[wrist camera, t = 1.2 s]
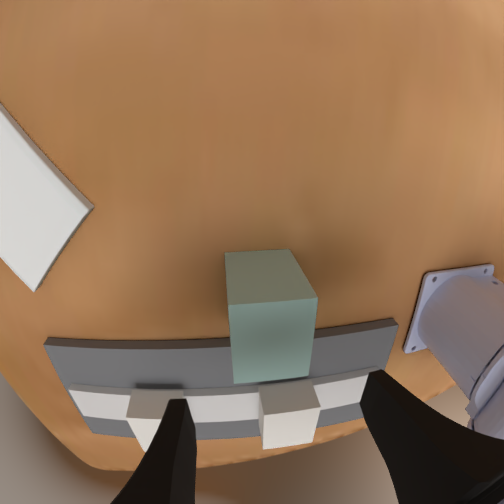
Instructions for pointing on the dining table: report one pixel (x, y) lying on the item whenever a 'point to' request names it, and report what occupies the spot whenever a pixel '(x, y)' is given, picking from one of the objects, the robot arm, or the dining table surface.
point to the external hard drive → (34, 205)
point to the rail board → (219, 385)
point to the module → (269, 315)
